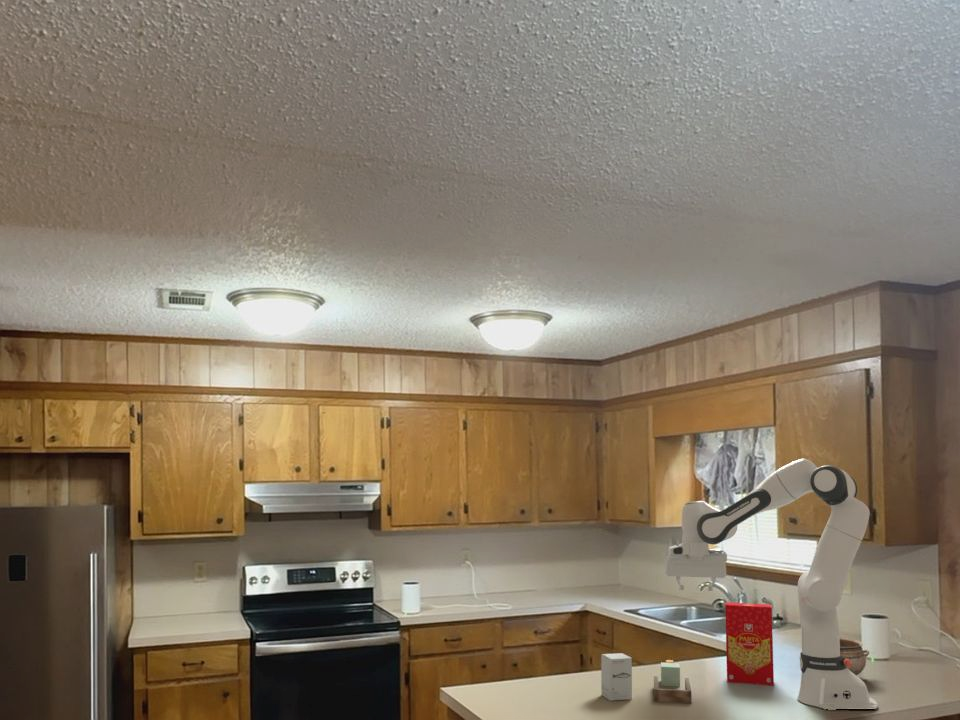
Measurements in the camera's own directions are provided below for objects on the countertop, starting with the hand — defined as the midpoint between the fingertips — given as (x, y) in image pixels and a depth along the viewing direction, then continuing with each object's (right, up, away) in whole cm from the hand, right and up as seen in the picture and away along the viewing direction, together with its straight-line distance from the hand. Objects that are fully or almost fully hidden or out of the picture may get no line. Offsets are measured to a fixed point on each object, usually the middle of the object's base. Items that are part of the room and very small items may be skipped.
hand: (695, 590), depth 300 cm
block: (-9, -29, -3) cm, 31 cm away
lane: (-13, -27, -23) cm, 38 cm away
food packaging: (+17, -29, -6) cm, 34 cm away
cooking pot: (+47, -30, -2) cm, 56 cm away
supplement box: (-31, -27, -26) cm, 48 cm away
